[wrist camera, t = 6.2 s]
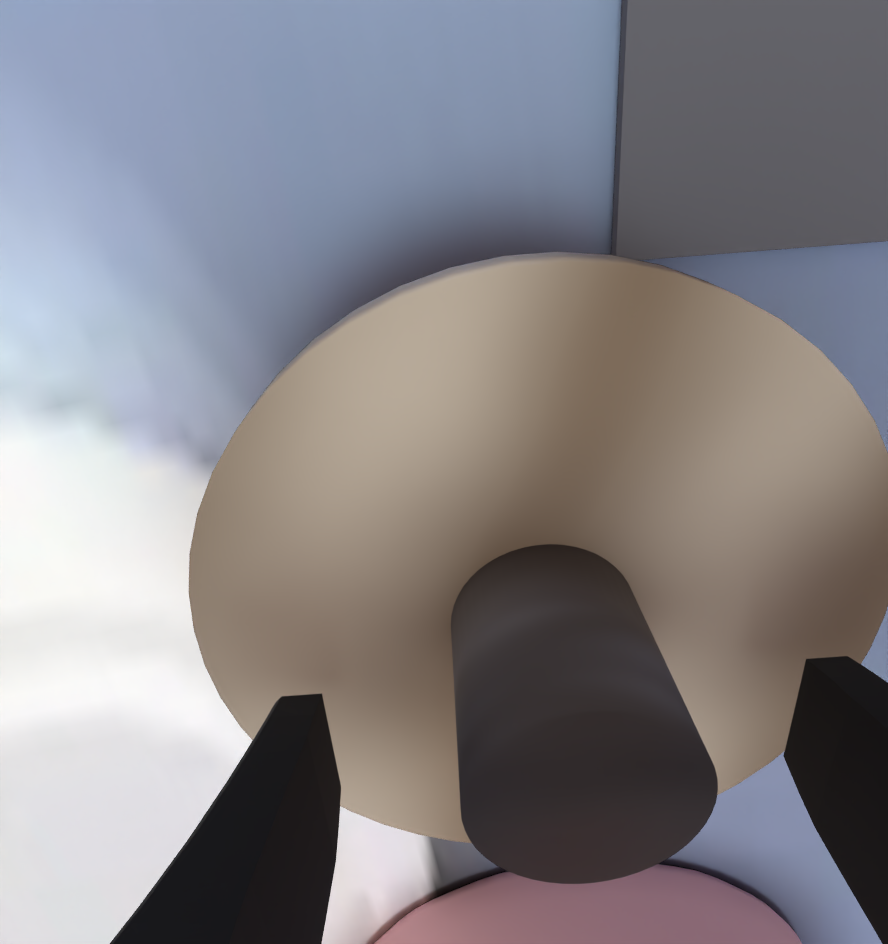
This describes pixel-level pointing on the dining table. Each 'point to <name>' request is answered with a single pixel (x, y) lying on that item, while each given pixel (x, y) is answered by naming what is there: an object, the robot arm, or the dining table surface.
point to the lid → (545, 553)
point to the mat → (750, 126)
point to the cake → (595, 913)
